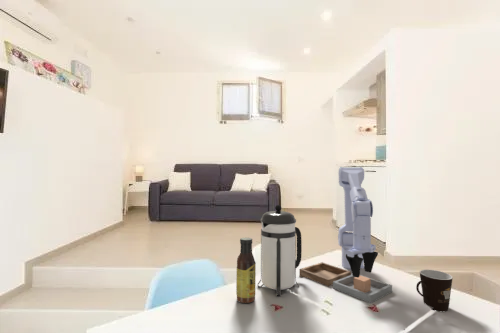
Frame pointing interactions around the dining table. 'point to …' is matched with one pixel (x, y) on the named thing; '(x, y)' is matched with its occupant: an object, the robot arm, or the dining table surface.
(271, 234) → the coffee press
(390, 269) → the dining table surface
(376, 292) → the grey bin
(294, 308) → the dining table surface
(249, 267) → the sauce bottle
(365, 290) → the terracotta block
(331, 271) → the walnut crate
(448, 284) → the coffee mug
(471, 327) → the dining table surface
